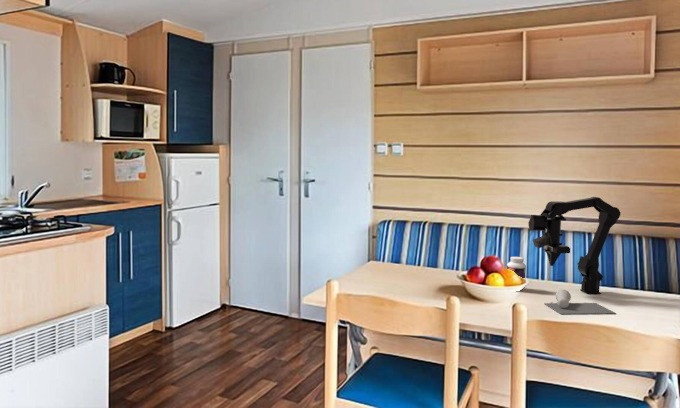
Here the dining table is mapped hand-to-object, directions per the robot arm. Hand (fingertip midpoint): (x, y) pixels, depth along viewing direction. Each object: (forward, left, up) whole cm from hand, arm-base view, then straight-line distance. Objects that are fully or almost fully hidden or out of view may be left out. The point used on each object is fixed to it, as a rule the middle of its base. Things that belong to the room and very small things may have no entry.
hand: (551, 265), depth 240 cm
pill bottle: (+14, -6, -12) cm, 19 cm away
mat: (+1, +25, -12) cm, 28 cm away
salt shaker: (+2, +15, -9) cm, 18 cm away
